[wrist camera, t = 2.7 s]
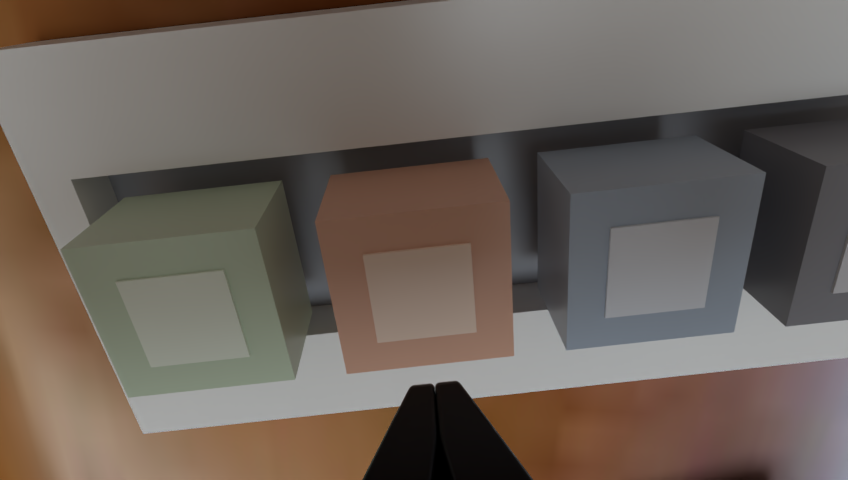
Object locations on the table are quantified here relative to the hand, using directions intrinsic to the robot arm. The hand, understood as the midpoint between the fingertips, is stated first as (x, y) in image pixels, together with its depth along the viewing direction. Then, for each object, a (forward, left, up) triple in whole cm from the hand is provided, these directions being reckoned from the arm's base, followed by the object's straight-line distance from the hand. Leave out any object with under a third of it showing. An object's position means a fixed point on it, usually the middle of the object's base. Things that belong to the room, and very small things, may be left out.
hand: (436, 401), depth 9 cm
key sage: (+4, -4, -7) cm, 9 cm away
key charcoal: (-7, +8, -6) cm, 13 cm away
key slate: (-3, +4, -7) cm, 8 cm away
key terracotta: (0, 0, -6) cm, 6 cm away
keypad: (-2, +2, -9) cm, 9 cm away
